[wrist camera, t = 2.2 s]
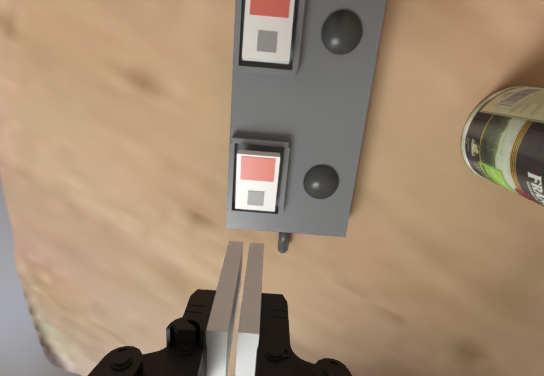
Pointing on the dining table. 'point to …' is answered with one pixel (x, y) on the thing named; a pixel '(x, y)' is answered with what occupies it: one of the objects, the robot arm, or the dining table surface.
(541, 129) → the coffee can
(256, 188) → the rocker
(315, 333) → the dining table surface
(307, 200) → the rocker switch panel
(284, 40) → the rocker
